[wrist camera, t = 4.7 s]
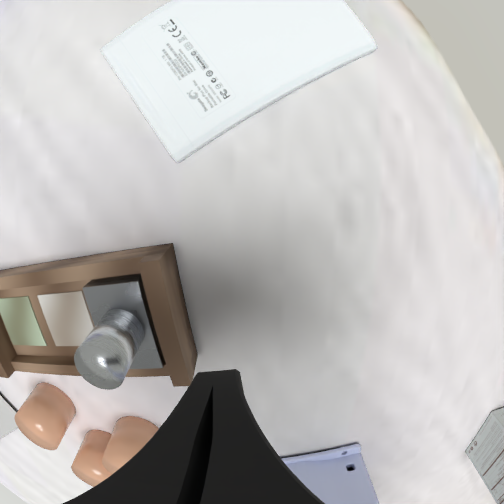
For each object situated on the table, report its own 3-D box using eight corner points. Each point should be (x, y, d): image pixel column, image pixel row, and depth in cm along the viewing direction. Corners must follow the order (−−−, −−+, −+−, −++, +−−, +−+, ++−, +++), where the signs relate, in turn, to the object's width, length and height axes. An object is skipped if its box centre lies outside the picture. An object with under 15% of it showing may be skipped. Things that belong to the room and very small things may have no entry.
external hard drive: (368, 55, 14) (181, 163, 16) (288, -41, 12) (108, 55, 13) (380, 46, 13) (175, 163, 14) (292, -55, 10) (96, 47, 12)
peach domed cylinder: (62, 384, 19) (41, 417, 15) (83, 420, 20) (66, 453, 16) (28, 380, 19) (6, 409, 15) (48, 415, 20) (31, 445, 16)
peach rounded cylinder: (117, 431, 20) (104, 467, 16) (134, 459, 21) (125, 493, 17) (78, 427, 20) (62, 459, 16) (97, 455, 21) (85, 486, 17)
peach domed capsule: (155, 416, 20) (143, 456, 16) (170, 448, 21) (162, 486, 17) (108, 414, 20) (92, 451, 16) (126, 446, 21) (115, 481, 17)
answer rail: (172, 243, 16) (158, 260, 13) (197, 354, 18) (191, 385, 15) (-12, 272, 16) (-38, 286, 13) (19, 356, 18) (0, 376, 15)
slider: (144, 272, 15) (111, 313, 11) (167, 355, 16) (148, 411, 12) (91, 279, 15) (48, 317, 11) (117, 357, 16) (90, 408, 12)
